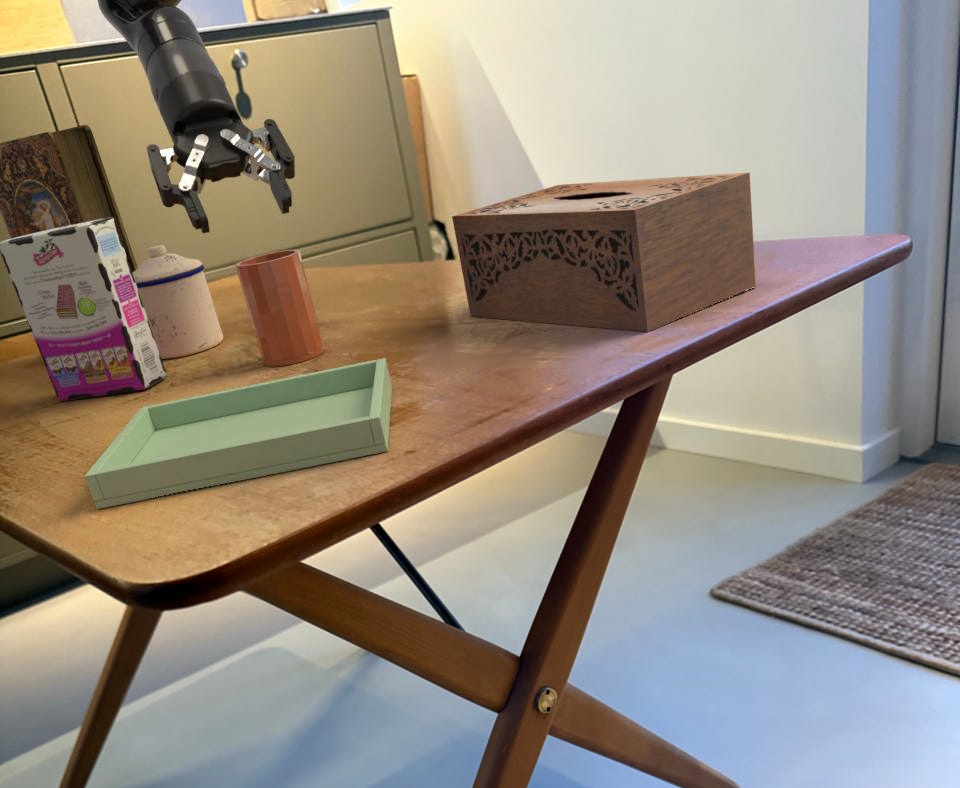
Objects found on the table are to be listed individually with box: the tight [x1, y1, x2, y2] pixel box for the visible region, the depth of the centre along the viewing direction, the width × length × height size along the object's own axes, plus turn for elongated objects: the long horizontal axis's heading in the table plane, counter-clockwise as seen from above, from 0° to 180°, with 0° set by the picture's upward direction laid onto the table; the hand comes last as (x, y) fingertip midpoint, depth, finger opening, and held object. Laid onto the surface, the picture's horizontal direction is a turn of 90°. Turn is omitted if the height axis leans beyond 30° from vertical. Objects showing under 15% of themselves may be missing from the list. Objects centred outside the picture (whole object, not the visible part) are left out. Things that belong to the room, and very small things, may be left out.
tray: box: [83, 357, 393, 510], centre depth 81 cm, size 22×18×3 cm
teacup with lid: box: [132, 244, 224, 360], centre depth 119 cm, size 12×9×12 cm
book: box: [0, 124, 139, 273], centre depth 126 cm, size 16×6×25 cm, turn 56°
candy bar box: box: [0, 217, 168, 402], centre depth 106 cm, size 11×5×16 cm, turn 76°
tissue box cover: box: [451, 172, 757, 333], centre depth 100 cm, size 26×14×10 cm, turn 38°
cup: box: [234, 249, 325, 367], centre depth 105 cm, size 6×6×10 cm
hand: (246, 217), depth 105 cm, fingers open, 8 cm apart
